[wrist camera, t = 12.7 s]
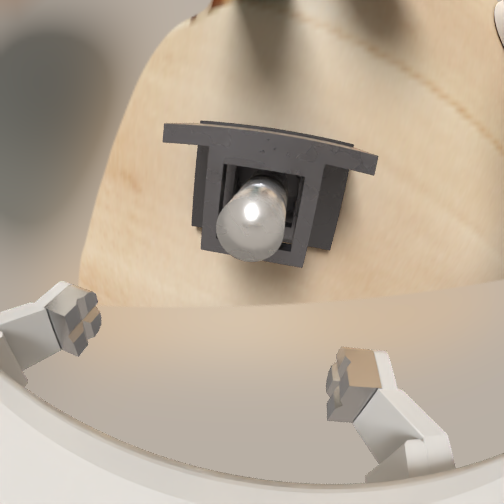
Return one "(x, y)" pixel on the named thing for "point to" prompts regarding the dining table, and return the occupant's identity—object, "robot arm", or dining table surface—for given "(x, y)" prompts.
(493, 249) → the dining table surface
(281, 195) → the grey cylinder
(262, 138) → the collar stand
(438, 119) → the dining table surface
